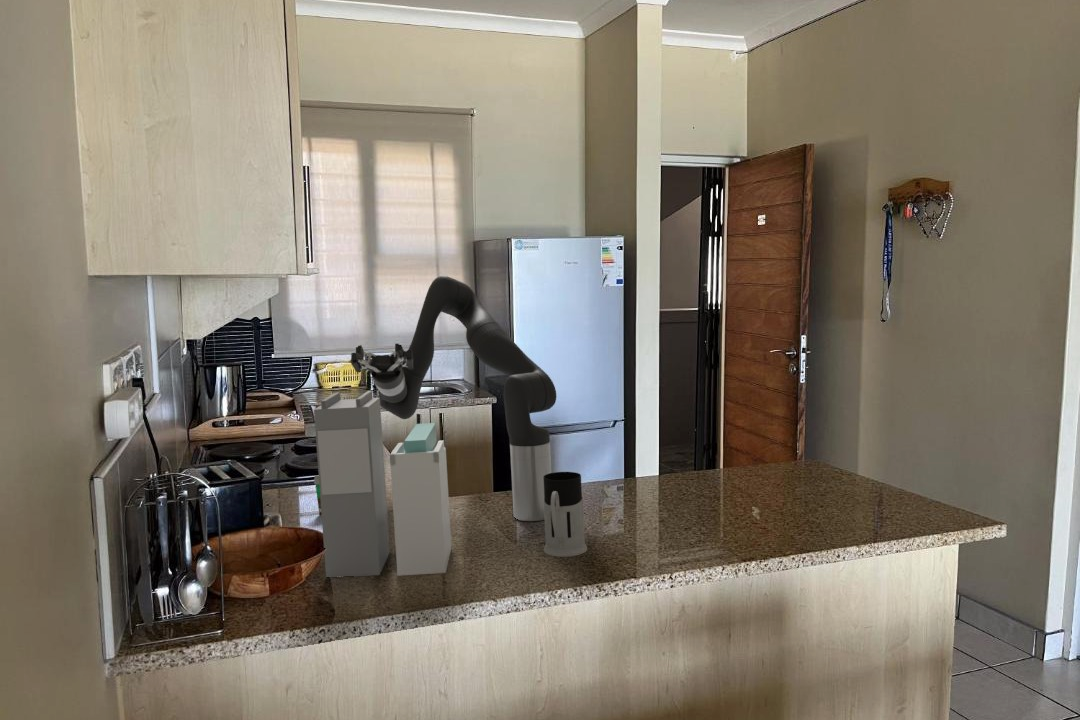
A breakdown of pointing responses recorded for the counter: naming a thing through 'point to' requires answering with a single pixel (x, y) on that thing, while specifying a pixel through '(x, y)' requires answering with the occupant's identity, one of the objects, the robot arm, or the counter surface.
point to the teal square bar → (421, 438)
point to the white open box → (421, 510)
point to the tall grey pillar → (352, 485)
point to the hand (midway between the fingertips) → (378, 347)
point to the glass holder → (564, 514)
